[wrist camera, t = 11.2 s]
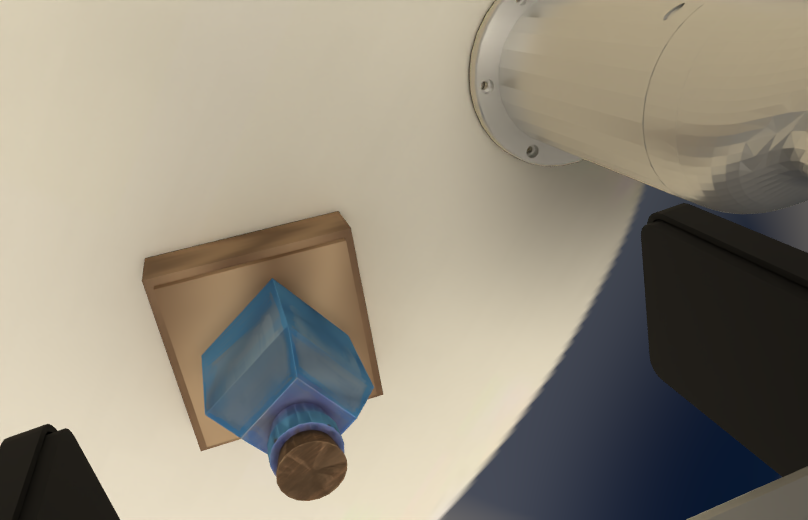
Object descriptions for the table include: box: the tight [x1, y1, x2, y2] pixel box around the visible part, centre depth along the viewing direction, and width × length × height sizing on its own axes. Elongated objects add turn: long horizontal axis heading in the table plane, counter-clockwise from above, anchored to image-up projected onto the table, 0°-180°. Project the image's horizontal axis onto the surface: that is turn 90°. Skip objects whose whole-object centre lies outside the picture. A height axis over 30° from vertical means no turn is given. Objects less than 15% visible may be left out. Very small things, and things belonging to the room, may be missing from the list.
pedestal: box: [142, 211, 383, 451], centre depth 42 cm, size 12×12×4 cm
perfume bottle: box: [202, 278, 374, 501], centre depth 35 cm, size 6×6×12 cm
